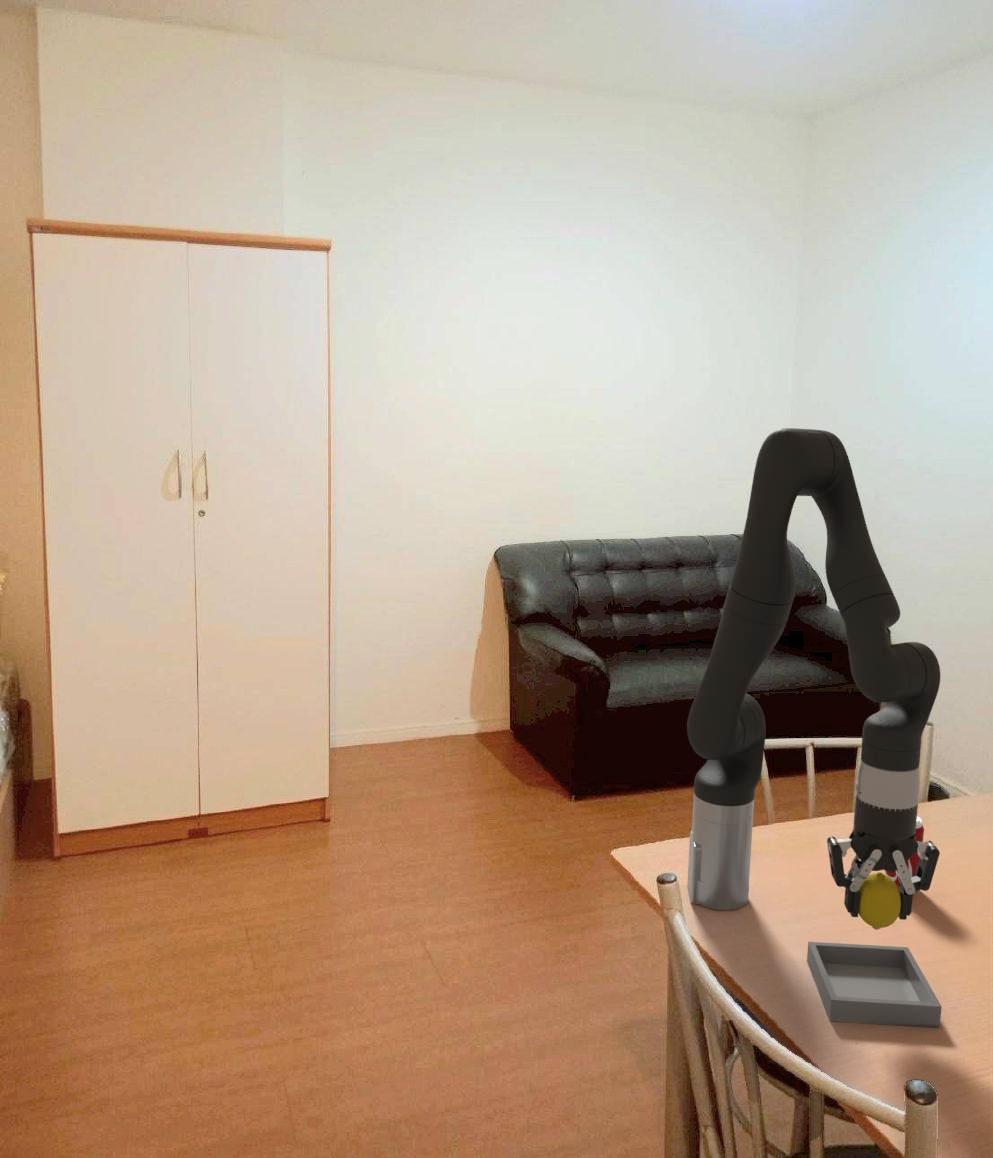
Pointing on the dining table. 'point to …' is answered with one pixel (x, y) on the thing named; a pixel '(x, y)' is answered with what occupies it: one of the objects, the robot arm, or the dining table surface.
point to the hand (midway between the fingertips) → (877, 915)
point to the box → (872, 985)
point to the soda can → (914, 859)
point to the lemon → (879, 901)
